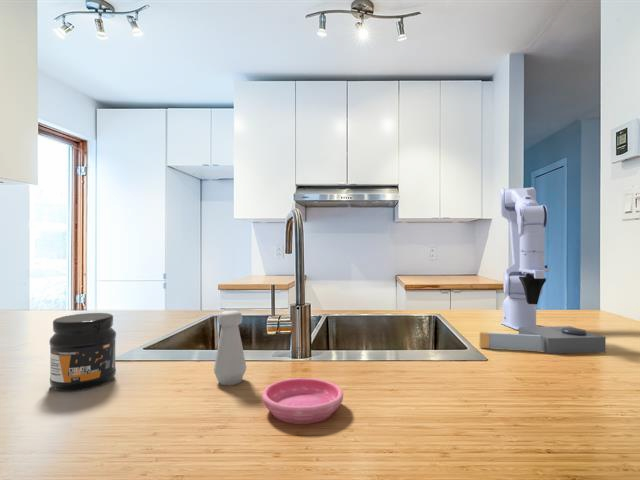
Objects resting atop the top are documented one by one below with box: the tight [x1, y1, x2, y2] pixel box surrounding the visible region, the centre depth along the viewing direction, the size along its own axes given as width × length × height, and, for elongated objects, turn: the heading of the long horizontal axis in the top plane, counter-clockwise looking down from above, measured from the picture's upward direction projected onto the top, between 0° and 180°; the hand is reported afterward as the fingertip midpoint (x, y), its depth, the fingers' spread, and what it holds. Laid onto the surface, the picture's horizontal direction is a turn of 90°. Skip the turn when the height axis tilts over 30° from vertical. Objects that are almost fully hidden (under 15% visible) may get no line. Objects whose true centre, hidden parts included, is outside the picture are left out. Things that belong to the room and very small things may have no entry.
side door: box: [478, 331, 542, 352], centre depth 92 cm, size 13×1×4 cm, turn 75°
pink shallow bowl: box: [261, 377, 344, 425], centre depth 60 cm, size 12×12×3 cm
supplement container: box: [49, 312, 117, 392], centre depth 72 cm, size 10×10×12 cm
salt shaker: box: [213, 309, 247, 386], centre depth 72 cm, size 6×6×13 cm
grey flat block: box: [518, 325, 607, 355], centre depth 95 cm, size 12×14×4 cm
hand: (532, 303), depth 101 cm, fingers closed
